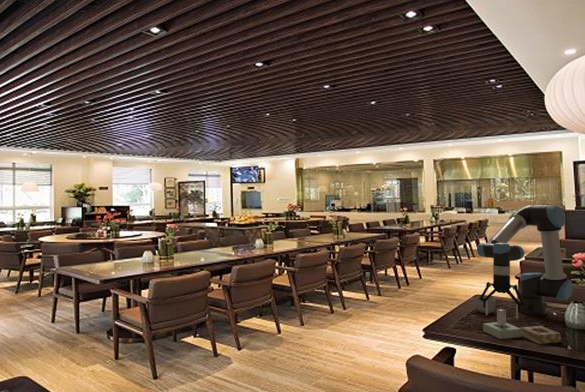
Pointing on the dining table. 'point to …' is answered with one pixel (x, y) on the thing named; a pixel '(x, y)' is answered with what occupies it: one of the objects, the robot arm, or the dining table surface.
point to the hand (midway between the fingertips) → (501, 316)
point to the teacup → (480, 304)
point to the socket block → (502, 330)
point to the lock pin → (501, 318)
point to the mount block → (540, 334)
